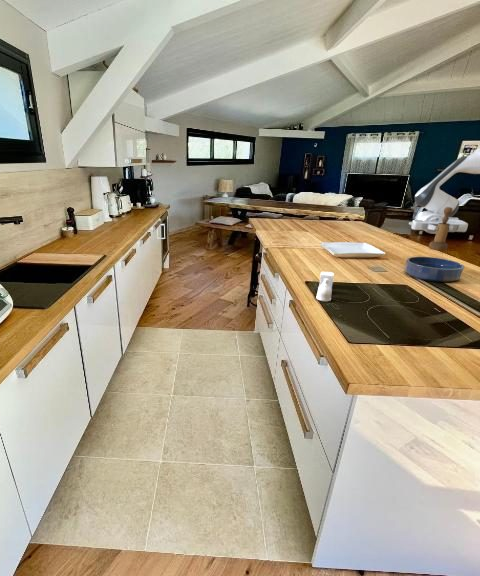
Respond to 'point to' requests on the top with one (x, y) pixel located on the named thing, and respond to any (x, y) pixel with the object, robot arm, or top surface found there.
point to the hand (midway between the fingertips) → (443, 228)
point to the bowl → (434, 269)
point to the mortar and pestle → (441, 232)
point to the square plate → (352, 250)
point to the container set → (325, 286)
